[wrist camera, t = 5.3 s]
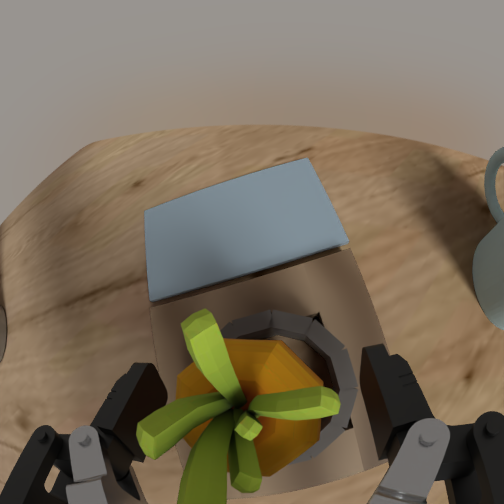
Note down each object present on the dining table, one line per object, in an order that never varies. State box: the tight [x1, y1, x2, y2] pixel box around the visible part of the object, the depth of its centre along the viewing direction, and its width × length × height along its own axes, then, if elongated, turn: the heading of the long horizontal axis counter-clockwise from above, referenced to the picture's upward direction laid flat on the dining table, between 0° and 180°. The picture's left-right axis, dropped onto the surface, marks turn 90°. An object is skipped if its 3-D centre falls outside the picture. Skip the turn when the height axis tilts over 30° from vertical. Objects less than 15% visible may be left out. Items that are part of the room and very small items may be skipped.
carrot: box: [136, 308, 341, 504], centre depth 10 cm, size 5×5×15 cm
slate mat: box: [144, 158, 349, 302], centre depth 22 cm, size 16×9×1 cm, turn 104°
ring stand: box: [149, 248, 390, 500], centre depth 15 cm, size 15×15×4 cm
